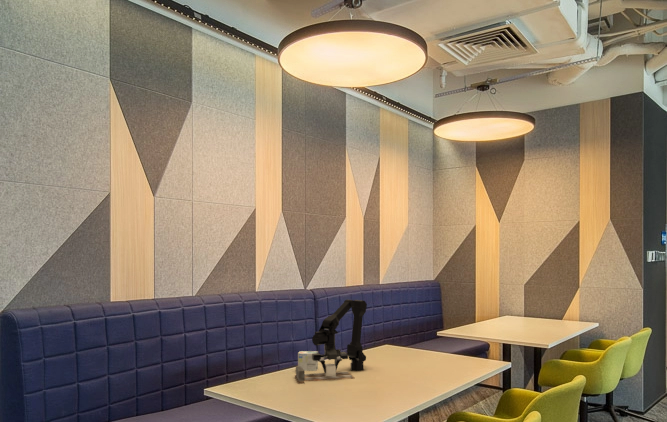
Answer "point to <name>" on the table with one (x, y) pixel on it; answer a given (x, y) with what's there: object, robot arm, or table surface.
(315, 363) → the light bulb box
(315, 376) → the track board
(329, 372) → the cream white cube
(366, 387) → the table surface
